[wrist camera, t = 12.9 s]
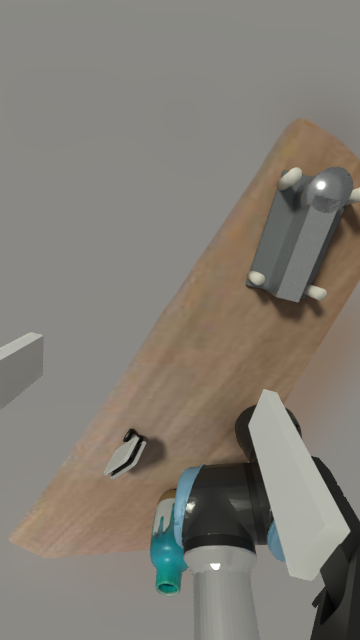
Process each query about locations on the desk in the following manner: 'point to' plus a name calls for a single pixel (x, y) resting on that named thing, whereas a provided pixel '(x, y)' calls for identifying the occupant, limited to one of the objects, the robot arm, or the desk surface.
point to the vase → (166, 547)
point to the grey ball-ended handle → (308, 230)
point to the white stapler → (125, 455)
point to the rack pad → (278, 229)
